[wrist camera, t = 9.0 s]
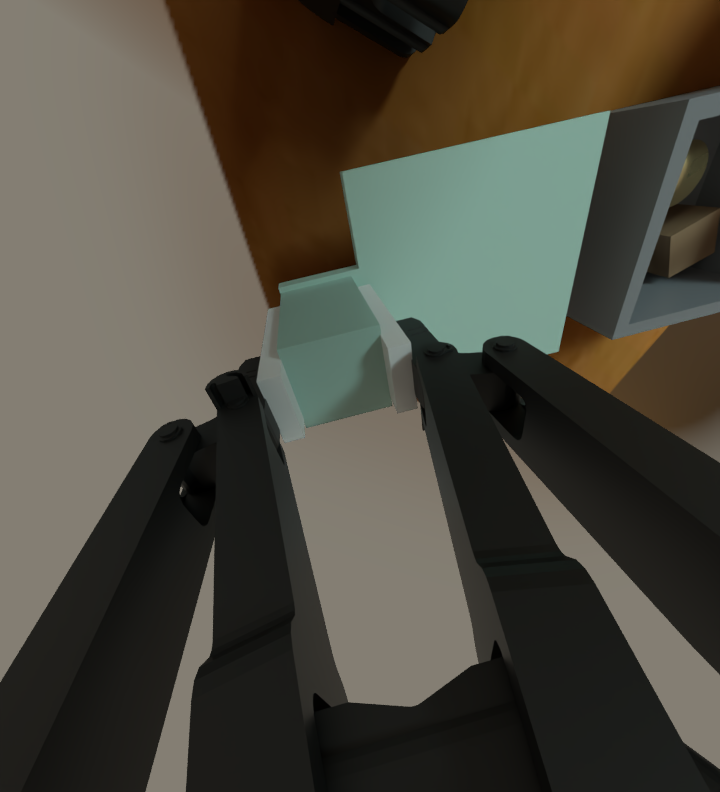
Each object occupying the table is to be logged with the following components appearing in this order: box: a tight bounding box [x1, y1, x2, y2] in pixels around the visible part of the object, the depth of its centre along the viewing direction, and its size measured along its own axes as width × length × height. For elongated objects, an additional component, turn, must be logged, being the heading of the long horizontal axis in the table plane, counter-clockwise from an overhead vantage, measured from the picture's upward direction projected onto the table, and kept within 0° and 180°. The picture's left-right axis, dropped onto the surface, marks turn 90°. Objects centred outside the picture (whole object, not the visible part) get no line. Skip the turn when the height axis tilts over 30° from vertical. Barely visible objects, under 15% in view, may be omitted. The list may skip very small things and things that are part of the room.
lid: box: [277, 111, 610, 428], centre depth 15 cm, size 12×16×8 cm
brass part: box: [669, 139, 708, 207], centre depth 19 cm, size 3×3×4 cm
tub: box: [566, 86, 720, 340], centre depth 19 cm, size 11×11×7 cm
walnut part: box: [647, 204, 720, 278], centre depth 22 cm, size 3×3×3 cm
